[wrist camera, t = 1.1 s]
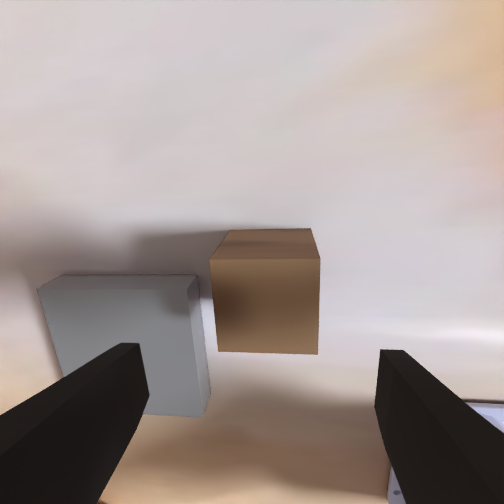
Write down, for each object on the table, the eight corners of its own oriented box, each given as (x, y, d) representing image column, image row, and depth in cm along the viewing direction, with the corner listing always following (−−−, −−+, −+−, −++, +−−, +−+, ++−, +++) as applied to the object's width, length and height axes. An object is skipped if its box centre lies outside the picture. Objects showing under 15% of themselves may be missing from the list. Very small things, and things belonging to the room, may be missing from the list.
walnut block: (309, 301, 18) (317, 354, 13) (235, 300, 18) (218, 351, 14) (310, 228, 16) (320, 258, 12) (230, 229, 17) (208, 259, 12)
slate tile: (210, 393, 21) (203, 417, 19) (91, 387, 22) (73, 410, 20) (197, 274, 18) (186, 289, 16) (61, 275, 19) (36, 288, 17)
